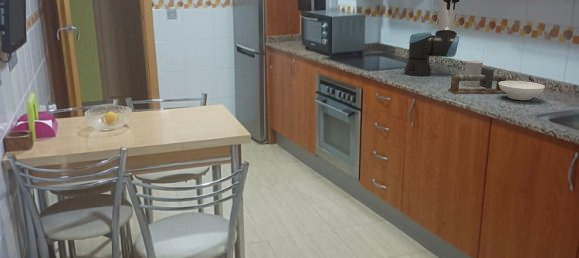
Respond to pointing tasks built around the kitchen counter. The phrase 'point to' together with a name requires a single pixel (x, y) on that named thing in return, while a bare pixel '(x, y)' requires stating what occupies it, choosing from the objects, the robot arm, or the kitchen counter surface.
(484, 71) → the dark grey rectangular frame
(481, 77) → the pipe stand
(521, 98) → the bowl
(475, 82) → the light grey cylinder
